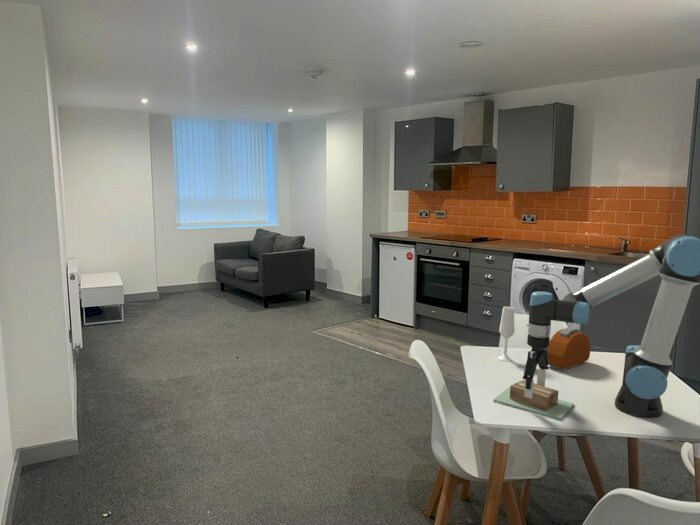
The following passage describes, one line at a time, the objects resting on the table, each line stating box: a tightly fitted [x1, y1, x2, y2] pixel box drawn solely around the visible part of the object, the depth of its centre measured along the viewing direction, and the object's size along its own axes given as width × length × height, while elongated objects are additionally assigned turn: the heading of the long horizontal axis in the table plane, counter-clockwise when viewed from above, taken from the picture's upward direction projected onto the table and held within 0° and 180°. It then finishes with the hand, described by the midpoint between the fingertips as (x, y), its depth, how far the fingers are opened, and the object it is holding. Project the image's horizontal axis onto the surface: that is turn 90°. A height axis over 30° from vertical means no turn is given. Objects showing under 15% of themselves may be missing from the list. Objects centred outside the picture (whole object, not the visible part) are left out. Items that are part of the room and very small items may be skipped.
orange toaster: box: [547, 327, 591, 372], centre depth 236 cm, size 23×9×17 cm, turn 129°
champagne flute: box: [497, 306, 516, 362], centre depth 241 cm, size 7×7×24 cm
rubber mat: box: [493, 386, 575, 421], centre depth 194 cm, size 24×16×1 cm, turn 53°
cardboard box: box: [509, 379, 559, 411], centre depth 193 cm, size 9×14×5 cm, turn 43°
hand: (534, 391), depth 193 cm, fingers open, 13 cm apart
